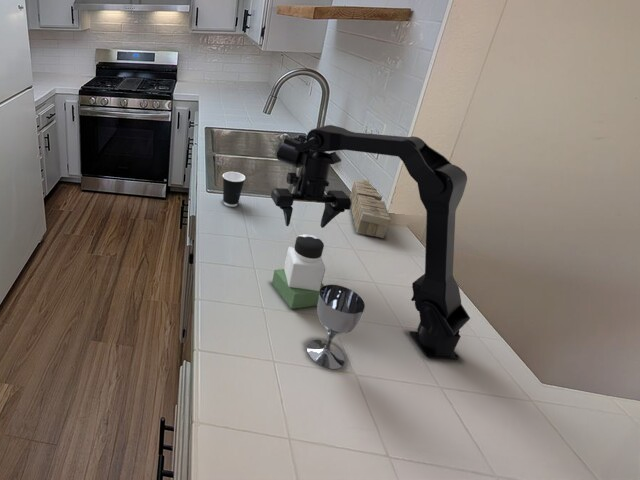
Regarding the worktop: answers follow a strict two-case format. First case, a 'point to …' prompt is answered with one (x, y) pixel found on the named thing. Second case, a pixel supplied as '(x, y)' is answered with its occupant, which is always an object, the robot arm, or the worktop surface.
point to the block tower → (368, 210)
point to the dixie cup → (232, 187)
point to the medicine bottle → (305, 263)
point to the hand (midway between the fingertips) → (304, 226)
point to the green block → (293, 292)
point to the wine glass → (335, 322)
